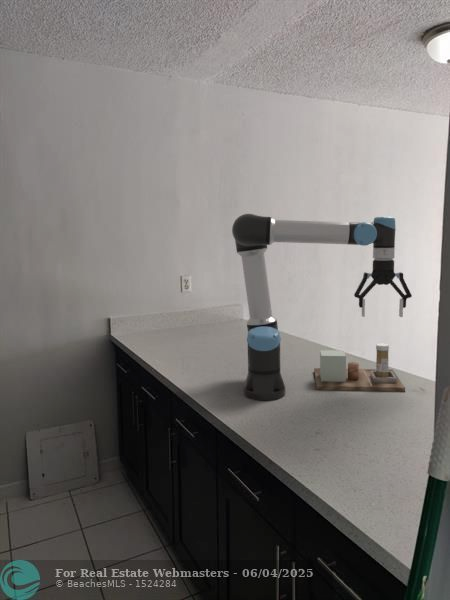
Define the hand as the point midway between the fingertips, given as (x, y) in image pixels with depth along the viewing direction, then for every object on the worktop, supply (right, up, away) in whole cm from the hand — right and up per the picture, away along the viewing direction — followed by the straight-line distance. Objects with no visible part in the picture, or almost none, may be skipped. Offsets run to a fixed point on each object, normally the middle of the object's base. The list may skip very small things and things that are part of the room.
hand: (381, 316), depth 178 cm
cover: (-17, -24, +5) cm, 30 cm away
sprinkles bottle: (+1, -24, +2) cm, 24 cm away
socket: (+1, -24, +2) cm, 24 cm away
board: (-8, -25, +6) cm, 27 cm away
